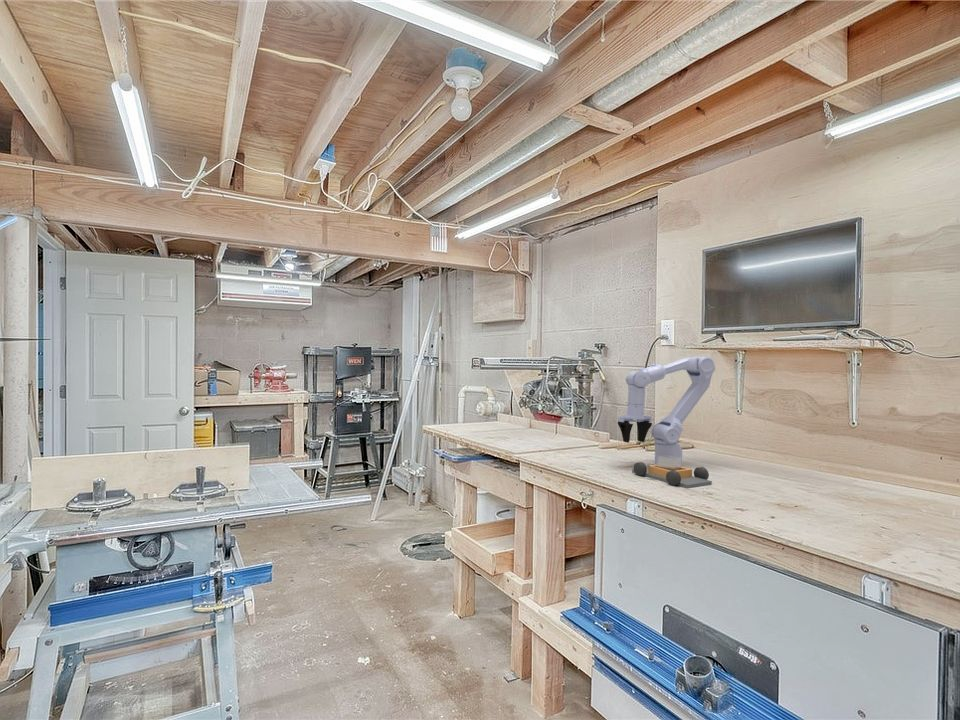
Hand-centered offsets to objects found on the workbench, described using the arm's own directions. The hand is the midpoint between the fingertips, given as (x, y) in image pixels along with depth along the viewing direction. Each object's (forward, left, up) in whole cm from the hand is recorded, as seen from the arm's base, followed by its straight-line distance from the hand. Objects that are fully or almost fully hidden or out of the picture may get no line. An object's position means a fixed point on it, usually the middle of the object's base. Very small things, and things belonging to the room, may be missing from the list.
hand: (633, 441), depth 175 cm
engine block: (0, +16, -8) cm, 18 cm away
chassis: (0, +17, -9) cm, 19 cm away
